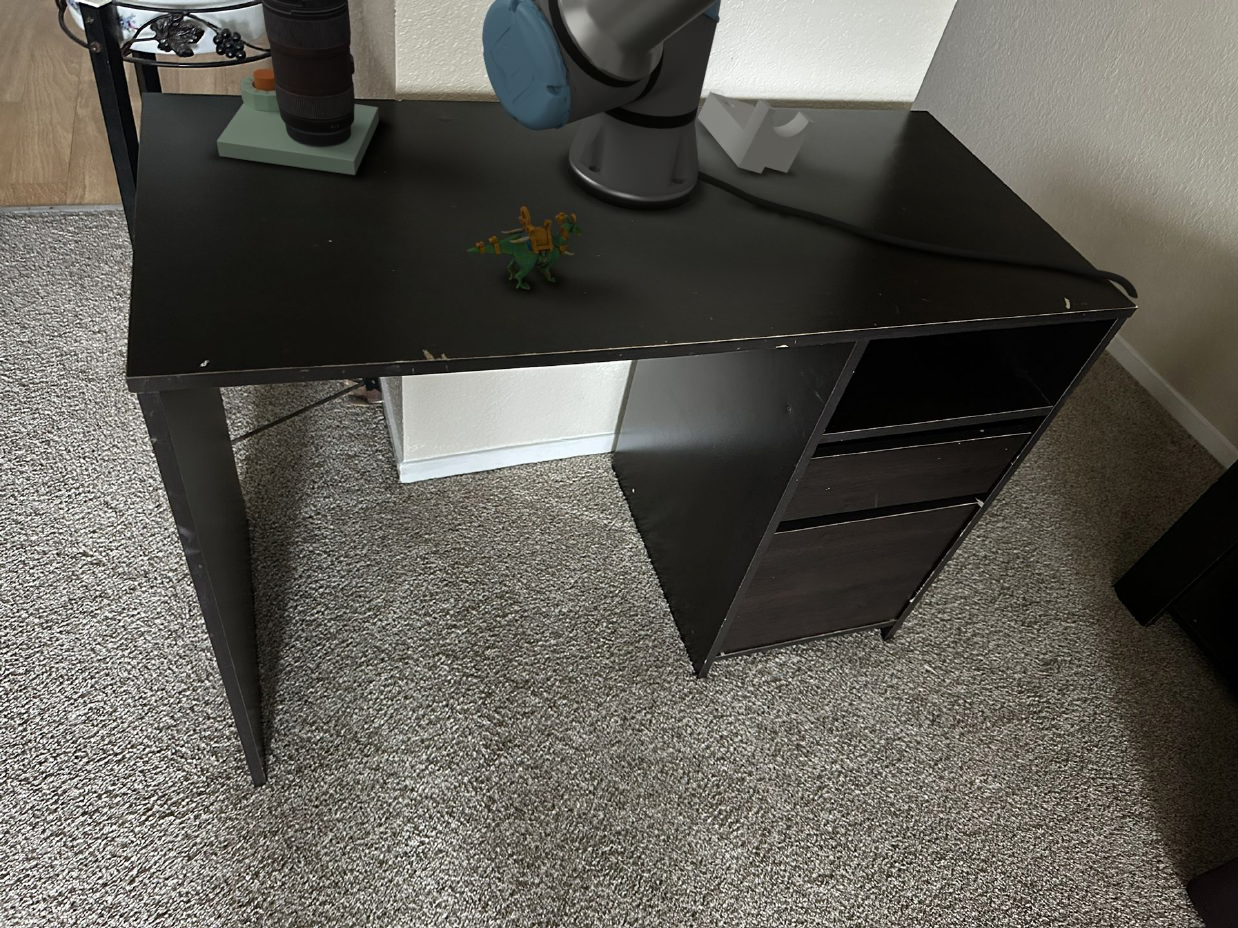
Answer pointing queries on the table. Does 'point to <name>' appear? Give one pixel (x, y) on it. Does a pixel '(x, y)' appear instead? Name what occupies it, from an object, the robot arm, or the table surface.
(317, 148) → the scale
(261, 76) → the button
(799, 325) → the table surface
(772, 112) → the bracket
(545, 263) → the figurine
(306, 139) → the camera lens
